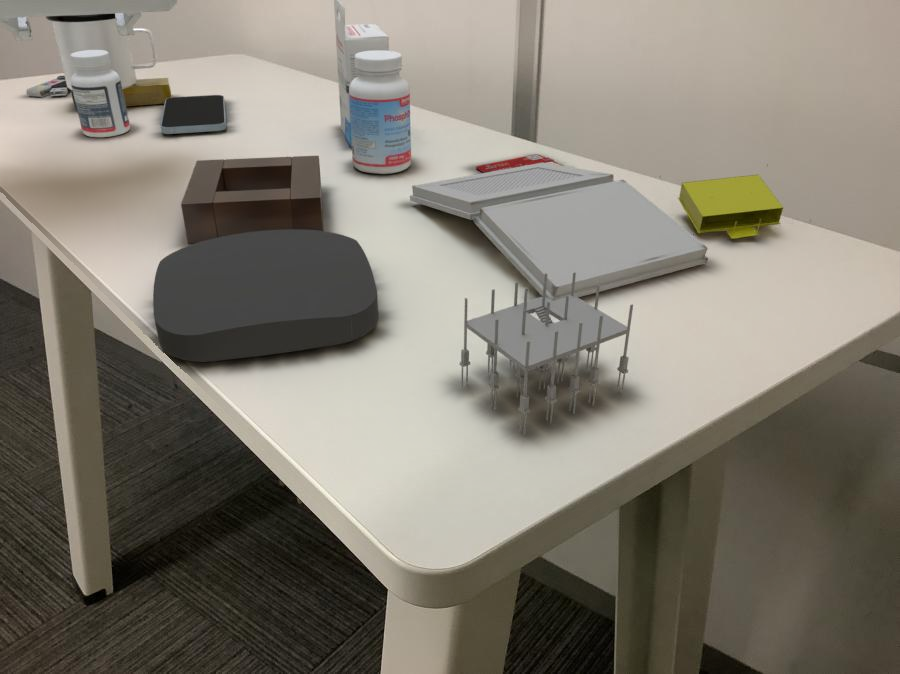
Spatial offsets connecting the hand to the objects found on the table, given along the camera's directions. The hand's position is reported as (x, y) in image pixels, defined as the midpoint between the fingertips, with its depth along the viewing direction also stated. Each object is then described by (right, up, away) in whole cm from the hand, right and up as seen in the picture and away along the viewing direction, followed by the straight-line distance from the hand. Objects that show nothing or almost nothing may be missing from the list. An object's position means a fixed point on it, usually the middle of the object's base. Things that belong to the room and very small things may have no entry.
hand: (75, 32), depth 80 cm
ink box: (+28, -7, +13) cm, 31 cm away
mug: (-6, +2, +23) cm, 24 cm away
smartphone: (+6, -3, +19) cm, 21 cm away
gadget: (+46, -21, -11) cm, 52 cm away
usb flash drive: (-18, +5, +31) cm, 36 cm away
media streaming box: (+24, -28, -23) cm, 44 cm away
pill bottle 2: (+30, -13, +4) cm, 33 cm away
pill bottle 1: (-3, -6, +14) cm, 16 cm away
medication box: (-6, +2, +27) cm, 27 cm away
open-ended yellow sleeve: (+62, -18, -11) cm, 65 cm away
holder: (+20, -19, -8) cm, 29 cm away
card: (+46, -14, +1) cm, 48 cm away
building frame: (+43, -34, -31) cm, 63 cm away
